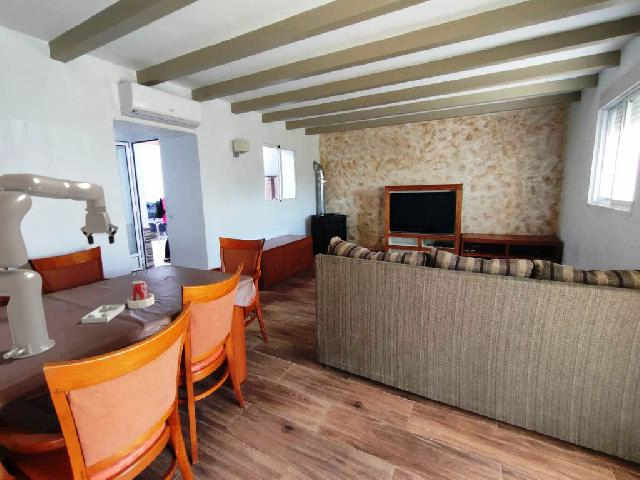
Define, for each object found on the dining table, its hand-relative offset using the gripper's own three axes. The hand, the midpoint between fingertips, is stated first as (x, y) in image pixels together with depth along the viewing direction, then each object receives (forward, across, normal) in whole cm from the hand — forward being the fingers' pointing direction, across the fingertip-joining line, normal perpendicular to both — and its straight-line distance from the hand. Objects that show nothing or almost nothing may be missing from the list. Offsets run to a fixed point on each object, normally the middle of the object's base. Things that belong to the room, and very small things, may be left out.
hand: (101, 243), depth 152 cm
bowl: (+33, +16, -1) cm, 37 cm away
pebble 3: (+33, +8, -18) cm, 39 cm away
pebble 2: (+33, +2, -8) cm, 34 cm away
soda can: (+33, +16, -1) cm, 37 cm away
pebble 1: (+33, +2, -19) cm, 38 cm away
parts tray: (+33, +5, -14) cm, 36 cm away
